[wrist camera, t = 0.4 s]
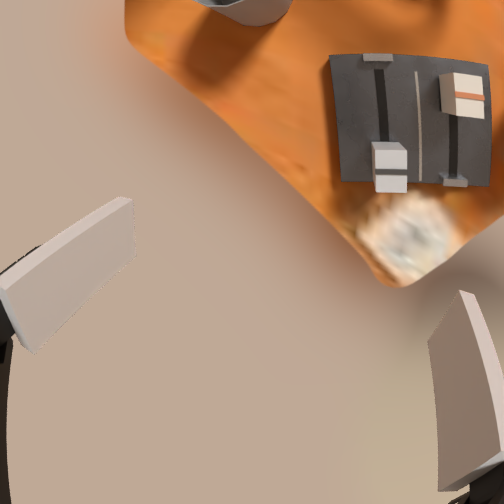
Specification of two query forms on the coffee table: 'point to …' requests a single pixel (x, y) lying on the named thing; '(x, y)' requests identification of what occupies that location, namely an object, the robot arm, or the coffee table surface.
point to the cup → (250, 10)
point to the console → (409, 118)
